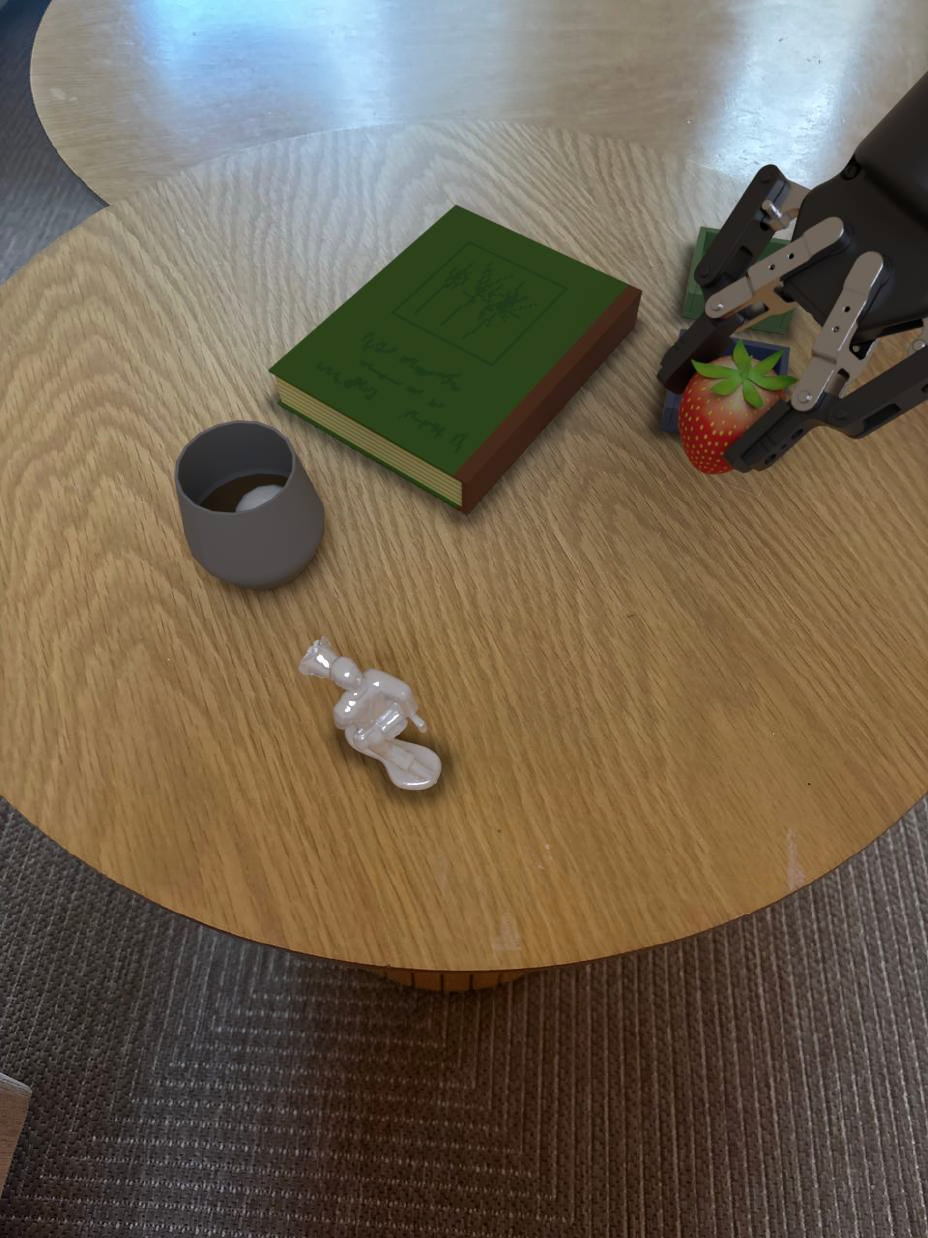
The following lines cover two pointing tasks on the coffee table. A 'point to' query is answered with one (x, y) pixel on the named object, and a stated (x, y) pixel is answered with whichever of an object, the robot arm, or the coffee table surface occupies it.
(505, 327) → the hardcover book
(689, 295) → the green tray
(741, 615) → the coffee table surface
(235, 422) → the cup
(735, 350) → the fruit
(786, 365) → the blue tray
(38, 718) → the coffee table surface
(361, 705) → the figurine
